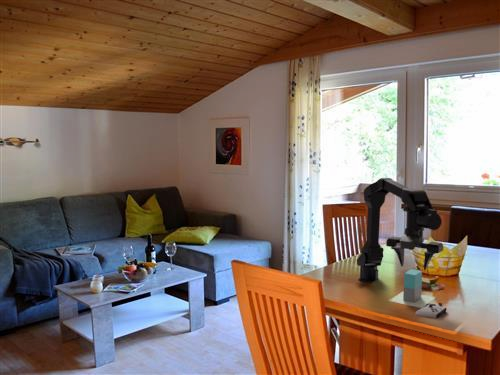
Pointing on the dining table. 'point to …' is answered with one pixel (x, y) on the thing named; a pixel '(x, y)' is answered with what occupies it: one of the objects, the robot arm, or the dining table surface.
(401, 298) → the base plate
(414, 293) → the grey rectangular block
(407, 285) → the teal brick
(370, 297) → the dining table surface
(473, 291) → the dining table surface
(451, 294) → the dining table surface
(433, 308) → the gaming controller
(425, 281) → the toy sandwich meal
